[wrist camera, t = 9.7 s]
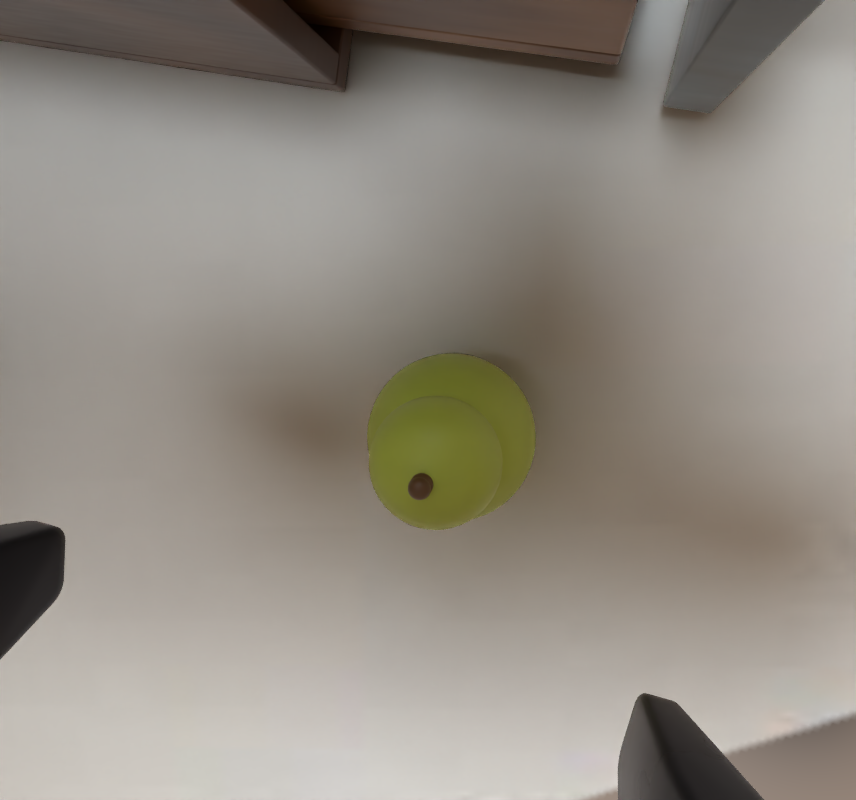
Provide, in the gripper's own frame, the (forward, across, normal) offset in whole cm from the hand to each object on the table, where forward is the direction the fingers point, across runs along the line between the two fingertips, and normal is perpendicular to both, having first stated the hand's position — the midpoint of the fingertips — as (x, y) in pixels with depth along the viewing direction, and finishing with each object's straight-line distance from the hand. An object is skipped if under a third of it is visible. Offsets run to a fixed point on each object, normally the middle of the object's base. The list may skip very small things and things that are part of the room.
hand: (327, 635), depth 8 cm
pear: (+12, 0, 0) cm, 12 cm away
